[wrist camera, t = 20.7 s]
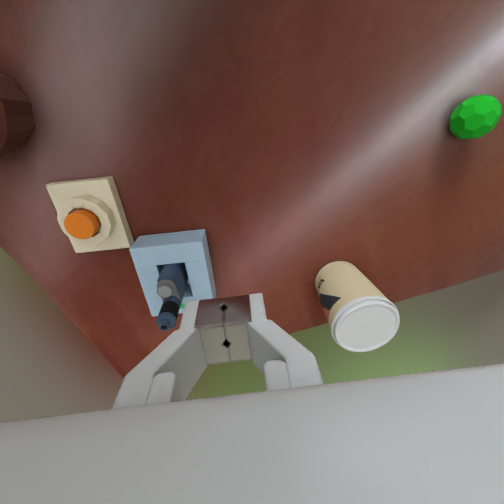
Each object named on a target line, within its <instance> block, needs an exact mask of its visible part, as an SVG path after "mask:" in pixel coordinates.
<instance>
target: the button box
mask: <svg viewBox="0 0 504 504" xmlns="http://www.w3.org/2000/svg"><path fill="white" fill-rule="evenodd" d="M45 186H46V188H47V190H48V192H49V195H50V197H51V199H52V201H53V203H54V206H55V208H56V210H57V212H58V216H57V220H58V222H59V225H60V227H61V229H62V231H63V232H64V233H65V234H66V235H67V236H68V237H69V239H70V241H71V243H72V246H73V248H74V250H75V252H76V253H81V252H91V251H100V250H110V249H119V248H129V247H131V246H132V244H133V243H134V240H133V237H132V234H131V231H130V228H129V225H128V222H127V219H126V216H125V212H124V209H123V206H122V203H121V200H120V197H119V194H118V191H117V188H116V185H115V182H114V179H113V176H108V177H98V178H88V179H78V180H68V181H58V182H52V183H49V184H47V185H45ZM78 209H86V210H89V211H91V212H93V213H94V214H95V215H96V216H97V218H98V219H99V222H100V227H99V230H98V231H97V232H96V233H95V234H94V235H92V236H91V237H90V238H88V239H78V238H75V237H73V236H71V235H70V234H69V233H68V232H67V231H66V229H65V227H64V219H65V218H66V216H67V215H69V214H71V213H72V212H74V211H76V210H78Z"/></svg>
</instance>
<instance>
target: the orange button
mask: <svg viewBox="0 0 504 504" xmlns="http://www.w3.org/2000/svg"><path fill="white" fill-rule="evenodd" d="M64 227H65V229H66V231H67V232H68V233H69V234H70V235H71V236H73V237H75V238H78V239H88V238H90V237H91V236H92V235H94V234H95V233H96V232H97V231H98V230H99V227H100V222H99V219H98V218H97V216H96V215H95V214H94V213H93V212H91V211H89V210H86V209H78V210H76V211H74V212H72V213H71V214H69V215H67V216H66V218H65V219H64Z"/></svg>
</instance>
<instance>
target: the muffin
mask: <svg viewBox="0 0 504 504" xmlns="http://www.w3.org/2000/svg"><path fill="white" fill-rule="evenodd" d="M34 129H35V124H34V120H33V117H32V108H31V102H30V101H29V100H28V99H27V97H26V96H25V95H24V94H23V93H22V92H21V91H20V89H19V88H18V86H17V85H16V83H15V82H14V81H13V79H12V78H11V77H9V76H7V75H4V74H2V73H0V155H2V154H5V153H7V152H9V151H12V150H14V149H16V148H19V147H21V146H23V145H25V144H26V141H27V139H28V137H29V135H30V134H31V133H32V132H33V130H34Z"/></svg>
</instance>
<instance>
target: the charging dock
mask: <svg viewBox="0 0 504 504" xmlns="http://www.w3.org/2000/svg"><path fill="white" fill-rule="evenodd" d="M129 250H130V253H131V256H132V259H133V262H134V265H135V267H136V271H137V274H138V277H139V280H140V283H141V286H142V289H143V292H144V295H145V298H146V301H147V303H148V306H149V309H150V312H151V315H152V316H158V314H159V312H160V309H161V306H162V304H163V301H162V298H161V297H160V296H159V295H158V294H157V283H158V282H157V280H158V278H159V276H160V273H161V271H162V269H163V267H164V265H165V264H174V263H183V262H185V266H186V270H187V274H188V281H187V285H186V289H185V292H184V296H183V300H182V304H181V306H180V309H179V313H183V312H184V308H185V304H186V302H187V301H193V300H202V299H213V298H216V293H217V292H216V287H215V281H214V276H213V270H212V265H211V259H210V254H209V248H208V243H207V237H206V232H205V229H201V230H191V231H181V232H172V233H162V234H153V235H143V236H139V237H138V238H137V240H136V241H135V242H134V243H133V245H132V246H131V247H130V249H129ZM179 313H178V314H179Z"/></svg>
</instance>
